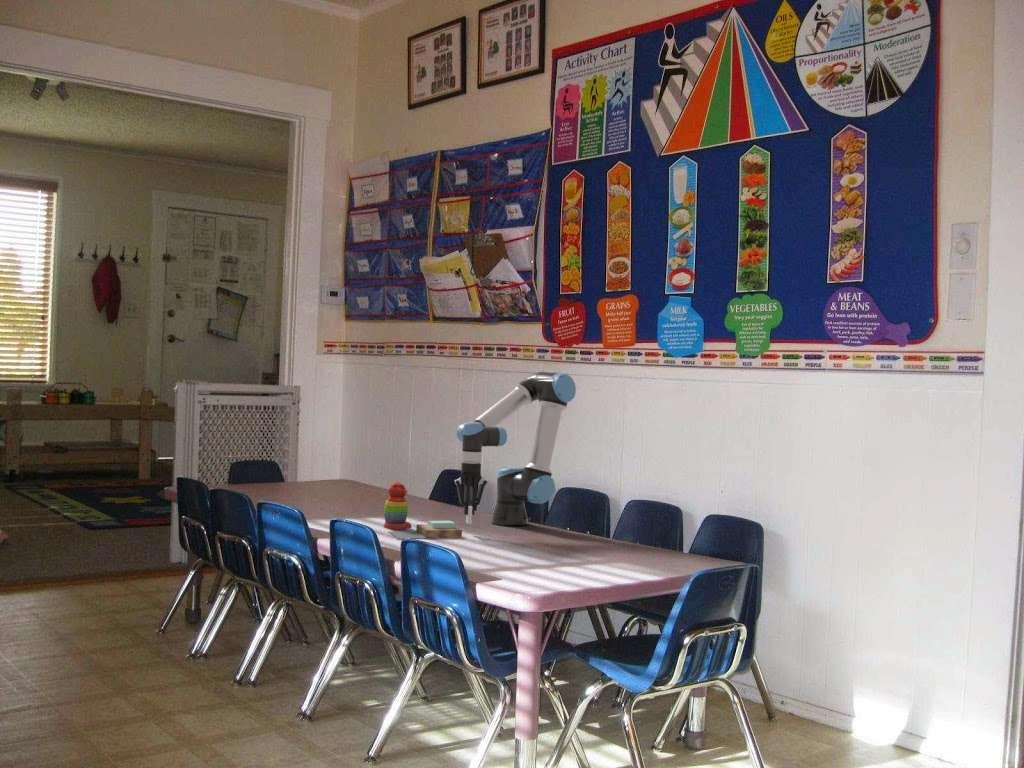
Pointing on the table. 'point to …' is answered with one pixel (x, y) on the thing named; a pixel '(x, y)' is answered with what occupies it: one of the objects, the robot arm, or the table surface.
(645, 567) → the table surface
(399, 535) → the mat
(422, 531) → the tan flat square slab
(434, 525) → the mint green block
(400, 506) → the stacking bear
